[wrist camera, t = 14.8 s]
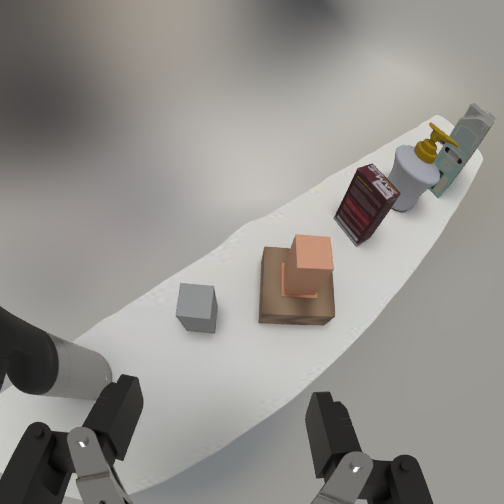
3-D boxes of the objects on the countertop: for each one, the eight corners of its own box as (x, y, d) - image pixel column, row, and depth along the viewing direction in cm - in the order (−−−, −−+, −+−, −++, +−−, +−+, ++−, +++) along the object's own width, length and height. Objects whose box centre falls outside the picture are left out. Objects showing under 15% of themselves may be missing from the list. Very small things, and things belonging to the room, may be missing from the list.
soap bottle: (406, 227, 60) (459, 158, 39) (367, 196, 64) (408, 120, 42) (419, 201, 65) (464, 138, 44) (384, 174, 69) (421, 106, 47)
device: (437, 165, 75) (477, 101, 49) (453, 180, 72) (496, 118, 46) (420, 180, 70) (466, 105, 43) (438, 198, 67) (489, 126, 41)
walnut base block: (258, 322, 48) (262, 313, 42) (261, 262, 53) (264, 246, 48) (324, 325, 48) (335, 315, 43) (321, 266, 54) (330, 251, 48)
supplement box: (370, 238, 58) (402, 193, 44) (355, 247, 56) (388, 201, 42) (347, 210, 61) (372, 161, 47) (332, 217, 60) (356, 167, 46)
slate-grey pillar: (186, 330, 46) (175, 315, 37) (190, 303, 48) (180, 283, 40) (214, 333, 46) (210, 319, 37) (217, 306, 49) (213, 286, 40)
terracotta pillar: (284, 294, 44) (297, 267, 35) (283, 266, 46) (295, 234, 38) (314, 295, 44) (333, 269, 35) (312, 267, 46) (330, 237, 38)
